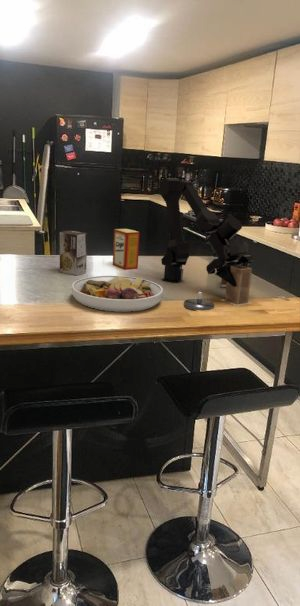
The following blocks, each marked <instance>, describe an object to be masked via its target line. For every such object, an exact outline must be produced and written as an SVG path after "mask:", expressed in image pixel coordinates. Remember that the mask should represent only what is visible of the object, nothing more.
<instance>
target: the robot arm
mask: <svg viewBox="0 0 300 606" xmlns="http://www.w3.org/2000/svg"><path fill="white" fill-rule="evenodd" d="M158 188H159V191H160V196H161V197H162V199H163V201H164V202H165V207H166V216H167V225H168V235H169V241H168V244H167V246H166V253H165V255H163V257H162V258H161V259H160V260H161V261H160V262H161V265H163V266H164V273H163V278H162V281H165V282H172V283H179V282H181V281H183V278H184V269H183V266H186V265H187V261H188V259H189V258H190V254H191V251H190V243H189V242H186V241H185V240H184V237H183V236H184V235H183V229H182V227H183V226H182V219H181V218H182V217H181V209H180V199H181V197H182V195H183V197H184V199H185V201H186V202H187V203H188V207H190V209H191V211H192V212H193V214H194V216H195V224H196V226H197V229H198V231H199V233H201V234H209V235H206V236H205V238H204V241H203V243H204V245H207V244H209V245H210V246H211V249H212V251H213V253H212V255H213V256H212V257H214V258H213V259H212V261H210V262H209V263H208V264H207V265H206V270H205V271H206V272H207V274H208V275H213V274H214V275H215V276H216V277H217V276H218V277H219V278H220V279H221V280H222V279H224V280H225V281H227V282H228V283H229V284H231V285H232V286H233V287H236V286H237V285H236V282H235V279H234V277H233V275H232V273H231V266H236V265H241V266H245V267H249V266H250V265H251V264H253V262H254V261H255V259H254V257H253V256H252V255H249V254H247V253H248V251H249V249H250V246H249V244H248V243H247V241H242V242H240V243H238V244H234V245H233V244H230V243H229V241H228V240H231V239H232V238H233V237H235V236H236V234H238V232H240V230H242V228H243V225H242V222H241V221H240V220H238V218H237V217H234V216H233V215H232V214H231V213H230V214H226V215H225V217H224V218H223V219H222V220H221V219H220V217H218V216H217V215H216V213H214V212H213V211H211V210H210V209H209V208H208V207H207V206H206V204H205V202H204V201H203V199H202V197H201V196H200V194H199V192H198V190H196V188H195V185H194V182H192V181H191V180H180V179H179V178H173V177H171V178H162V179H161V181H160V182H159V187H158ZM242 254H247V255H242ZM241 255H242V256H241Z"/></svg>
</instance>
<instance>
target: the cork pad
mask: <svg viewBox="0 0 300 606" xmlns="http://www.w3.org/2000/svg"><path fill="white" fill-rule="evenodd" d="M220 301H221V302H225V303H227V304H231V305H232V306H233V305H234V306H235V307H239V306H244V305H245V306H246V305H250V304H253V302H252V301H250V300H248V303H243V304H238V305H237V304H234V303H231V302H228V301H225V298H222V299H220Z"/></svg>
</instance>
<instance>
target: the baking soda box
mask: <svg viewBox="0 0 300 606" xmlns="http://www.w3.org/2000/svg"><path fill="white" fill-rule="evenodd" d="M140 235H141V233H140V231H136V230H134V229H129V228H115V229H114V228H113V247H112V248H113V251H112V252H113V253H112V266H114V267H116V268H119V269H122V270H124V271H126V270H127V271H128V270H136V269H137V270H138V267H139V254H140V253H139V251H140V250H139V249H140Z"/></svg>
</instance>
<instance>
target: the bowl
mask: <svg viewBox="0 0 300 606" xmlns="http://www.w3.org/2000/svg"><path fill="white" fill-rule="evenodd" d="M71 293H72V296H73V298H74V299H75V300H76V301H77V302H78V303H80V304H81V305H83V306H85V307H87V306H88V307H87V308H90V307H91V308H90V309H93V308H95V309H94V310H97V309H99V311H103V310H105V311H104V312H111V311H114V312H115V313H129V312H130V313H131V311H133V312H140V311H145V310H148V309H151V308H153V307H155V306H156V305H157V304H158V303H160V301H161V299H162V297H163V295H164V294H163V293H164V289H163V287H162V286H161V285H160V284H159V283H156V282H154V281H152V280H147V279H145V278H141V277H133V276H125V275H96V276H95V275H94V276H88V277H84V278H79V279H77V280H75V281H74V282H72V284H71Z"/></svg>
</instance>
